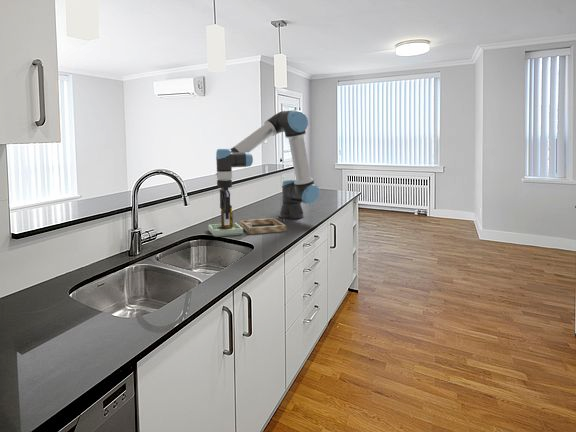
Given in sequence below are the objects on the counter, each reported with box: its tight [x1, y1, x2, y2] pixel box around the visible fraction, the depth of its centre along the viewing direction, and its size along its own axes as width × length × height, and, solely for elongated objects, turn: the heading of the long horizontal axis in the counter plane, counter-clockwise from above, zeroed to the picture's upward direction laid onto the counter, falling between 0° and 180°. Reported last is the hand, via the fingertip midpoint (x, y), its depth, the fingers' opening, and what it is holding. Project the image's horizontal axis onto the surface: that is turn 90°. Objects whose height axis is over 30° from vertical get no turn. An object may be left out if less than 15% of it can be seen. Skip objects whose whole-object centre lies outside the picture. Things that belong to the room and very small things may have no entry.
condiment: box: [216, 204, 235, 230], centre depth 211 cm, size 7×8×12 cm
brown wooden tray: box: [239, 217, 287, 235], centre depth 221 cm, size 20×20×3 cm
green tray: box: [208, 222, 244, 238], centre depth 212 cm, size 15×15×3 cm
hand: (225, 223), depth 211 cm, fingers closed on condiment, 6 cm apart
